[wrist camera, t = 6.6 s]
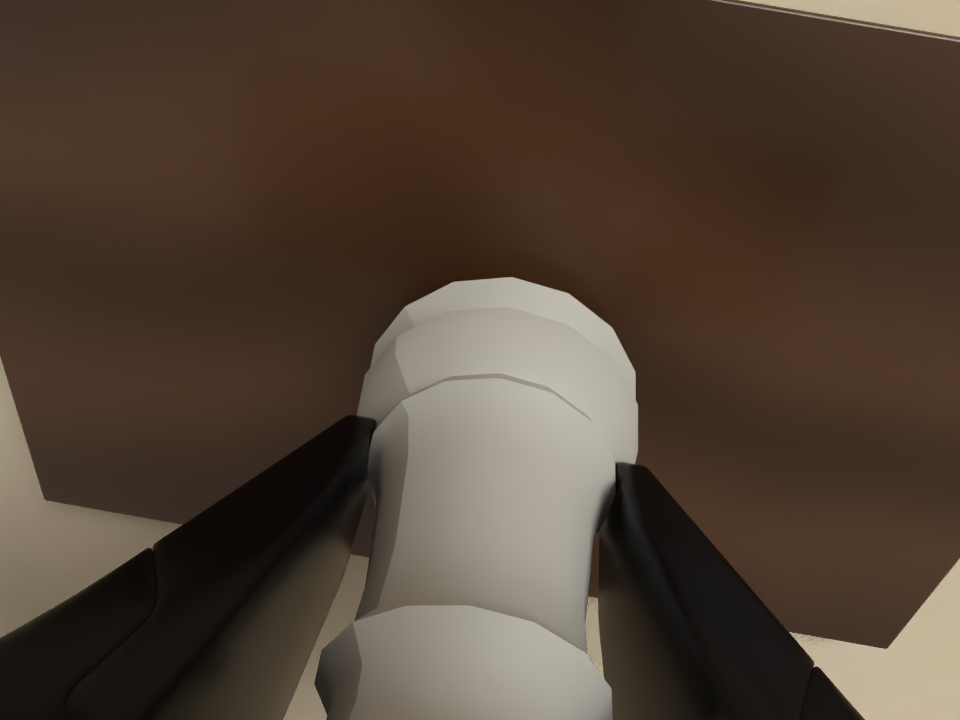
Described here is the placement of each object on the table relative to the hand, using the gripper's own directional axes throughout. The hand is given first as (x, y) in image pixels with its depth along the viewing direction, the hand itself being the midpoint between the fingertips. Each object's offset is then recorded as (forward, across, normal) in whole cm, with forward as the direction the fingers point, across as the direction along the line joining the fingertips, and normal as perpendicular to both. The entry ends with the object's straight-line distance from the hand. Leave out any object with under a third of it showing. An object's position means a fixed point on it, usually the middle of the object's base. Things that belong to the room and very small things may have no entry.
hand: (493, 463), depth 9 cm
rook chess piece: (+2, 0, 0) cm, 2 cm away
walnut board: (+4, 0, 0) cm, 4 cm away
